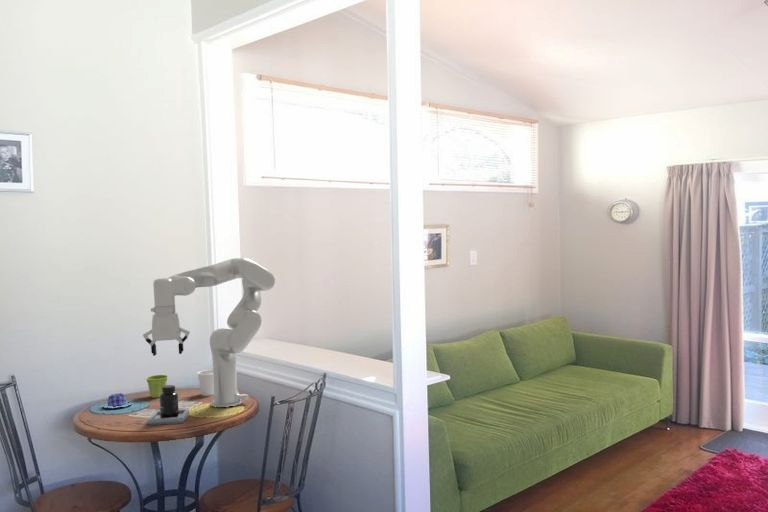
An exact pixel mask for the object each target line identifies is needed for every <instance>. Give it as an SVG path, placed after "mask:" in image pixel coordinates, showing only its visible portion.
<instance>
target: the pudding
mask: <svg viewBox="0 0 768 512" xmlns="http://www.w3.org/2000/svg"><path fill="white" fill-rule="evenodd" d="M127 402H128V401H127V398H126V397H125V394H124V393H120V392H119V393H114V394H113V393H112V394H110V395H109V396H108V400H107V405H108V406H113V407H116V406H122V405H125V404H127Z"/></svg>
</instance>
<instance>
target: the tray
mask: <svg viewBox="0 0 768 512" xmlns="http://www.w3.org/2000/svg"><path fill="white" fill-rule="evenodd" d="M178 409H179V408H178ZM189 415H190V409H189V408H181V409H179V415H178V417H173V418H161V417H160V410H155V411H154V412H153V413H152V414H151V415H150V417H148V419H147V425H148V426H157V425H170V424H172V425H173V424H184V423H185V421H186V420H187V419H188V416H189Z"/></svg>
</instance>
